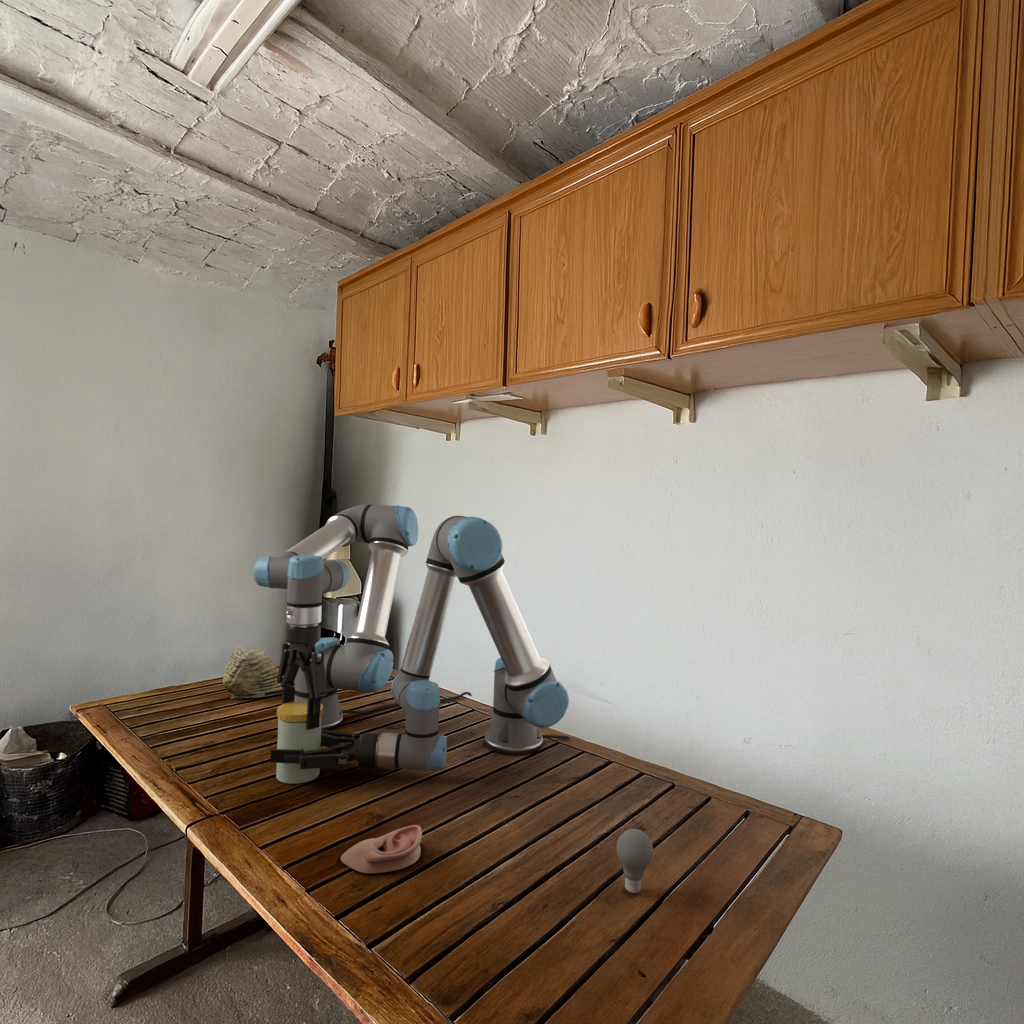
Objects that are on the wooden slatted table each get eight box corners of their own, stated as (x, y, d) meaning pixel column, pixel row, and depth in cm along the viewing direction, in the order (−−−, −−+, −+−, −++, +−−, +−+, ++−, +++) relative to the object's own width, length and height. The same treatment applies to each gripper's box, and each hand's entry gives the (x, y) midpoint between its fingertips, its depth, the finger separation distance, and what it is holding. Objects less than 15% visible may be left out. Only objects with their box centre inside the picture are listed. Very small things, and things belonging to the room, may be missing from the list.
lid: (266, 715, 142) (267, 708, 142) (303, 704, 150) (303, 697, 150) (296, 725, 137) (297, 718, 137) (332, 713, 145) (333, 706, 145)
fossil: (218, 695, 195) (220, 647, 195) (278, 685, 208) (279, 640, 207) (228, 703, 189) (230, 653, 188) (289, 692, 201) (290, 645, 201)
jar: (288, 764, 149) (291, 702, 149) (326, 768, 148) (328, 705, 147) (268, 781, 140) (270, 715, 140) (307, 785, 139) (310, 719, 138)
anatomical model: (332, 845, 108) (361, 813, 119) (331, 868, 108) (361, 834, 119) (406, 857, 105) (428, 823, 117) (405, 880, 106) (428, 844, 117)
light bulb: (610, 879, 108) (613, 822, 108) (644, 879, 109) (647, 822, 109) (619, 902, 102) (622, 840, 102) (655, 901, 103) (658, 840, 103)
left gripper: (263, 618, 148) (259, 712, 148) (316, 634, 133) (312, 740, 133) (292, 614, 153) (289, 706, 154) (346, 630, 139) (342, 731, 139)
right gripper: (367, 788, 133) (260, 785, 133) (386, 747, 155) (294, 744, 155) (368, 753, 133) (261, 749, 133) (387, 717, 155) (295, 713, 155)
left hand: (299, 721), depth 144 cm, fingers closed on lid, 10 cm apart
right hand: (279, 746), depth 144 cm, fingers closed on jar, 9 cm apart
